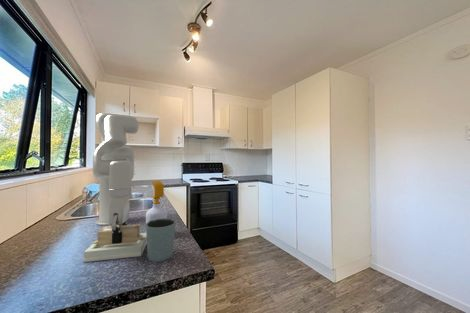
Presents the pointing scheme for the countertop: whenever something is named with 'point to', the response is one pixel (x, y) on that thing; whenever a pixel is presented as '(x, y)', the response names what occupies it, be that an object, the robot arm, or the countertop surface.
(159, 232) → the teal embossed pot
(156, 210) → the soap bottle
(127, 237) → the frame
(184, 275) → the countertop surface
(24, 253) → the countertop surface
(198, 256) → the countertop surface
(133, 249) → the cream rectangular tray
